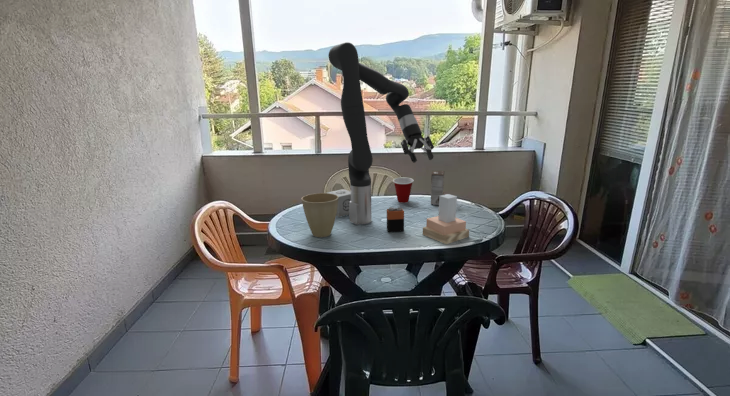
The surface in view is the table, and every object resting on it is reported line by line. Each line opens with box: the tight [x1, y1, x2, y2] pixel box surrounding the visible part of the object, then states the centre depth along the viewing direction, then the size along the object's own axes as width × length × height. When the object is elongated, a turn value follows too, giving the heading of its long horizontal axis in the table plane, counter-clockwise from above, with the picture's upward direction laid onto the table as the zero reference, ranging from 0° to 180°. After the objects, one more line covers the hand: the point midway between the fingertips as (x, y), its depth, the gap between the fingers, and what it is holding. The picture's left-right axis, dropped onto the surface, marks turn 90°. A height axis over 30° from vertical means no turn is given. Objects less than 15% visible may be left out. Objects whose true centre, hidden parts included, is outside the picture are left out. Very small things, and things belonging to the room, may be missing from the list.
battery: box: [386, 206, 405, 233], centre depth 157 cm, size 4×7×10 cm, turn 95°
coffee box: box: [430, 170, 445, 206], centre depth 194 cm, size 9×6×16 cm
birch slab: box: [422, 226, 470, 245], centre depth 151 cm, size 13×13×4 cm
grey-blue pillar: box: [437, 193, 458, 223], centre depth 149 cm, size 5×5×10 cm
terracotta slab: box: [425, 215, 467, 235], centre depth 151 cm, size 11×11×4 cm
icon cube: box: [326, 188, 351, 218], centre depth 181 cm, size 10×10×10 cm
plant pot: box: [301, 192, 339, 238], centre depth 153 cm, size 15×15×16 cm
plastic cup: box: [392, 176, 415, 204], centre depth 197 cm, size 11×11×12 cm
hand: (423, 160), depth 158 cm, fingers open, 8 cm apart
